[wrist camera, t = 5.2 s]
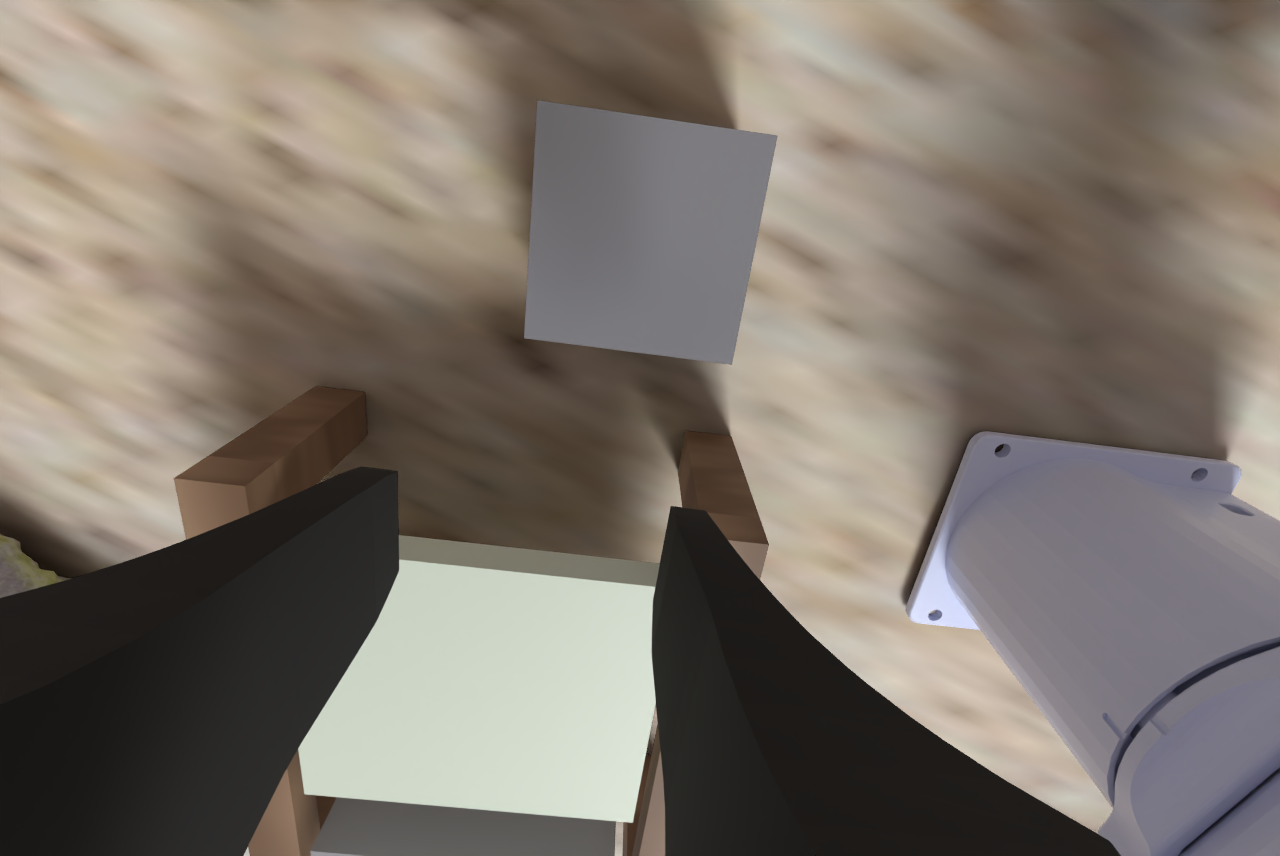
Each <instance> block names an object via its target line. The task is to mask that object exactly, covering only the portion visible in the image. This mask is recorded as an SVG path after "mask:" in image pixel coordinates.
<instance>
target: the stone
mask: <svg viewBox="0 0 1280 856" xmlns="http://www.w3.org/2000/svg"><path fill="white" fill-rule="evenodd" d="M776 141H777V136H776V135H770V134H763V133H756V132H749V131H743V130H736V129H729V128H722V127H716V126H709V125H702V124H695V123H688V122H682V121H675V120H668V119H661V118H655V117H648V116H641V115H634V114H628V113H621V112H614V111H607V110H600V109H594V108H587V107H580V106H573V105H567V104H560V103H553V102H546V101H540V100H537V114H536V132H535V150H534V168H533V186H532V204H531V222H530V240H529V258H528V276H527V294H526V312H525V330H524V338H526V339H534V340H542V341H550V342H558V343H565V344H573V345H581V346H589V347H597V348H605V349H613V350H620V351H628V352H636V353H644V354H652V355H660V356H667V357H675V358H683V359H691V360H699V361H707V362H715V363H722V364H730V365H732V361H733V356H734V351H735V346H736V341H737V336H738V331H739V326H740V321H741V316H742V311H743V306H744V301H745V296H746V291H747V286H748V281H749V276H750V271H751V266H752V261H753V256H754V251H755V246H756V241H757V236H758V231H759V226H760V221H761V216H762V211H763V206H764V201H765V196H766V191H767V186H768V181H769V176H770V171H771V166H772V161H773V156H774V151H775V146H776Z"/></svg>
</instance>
